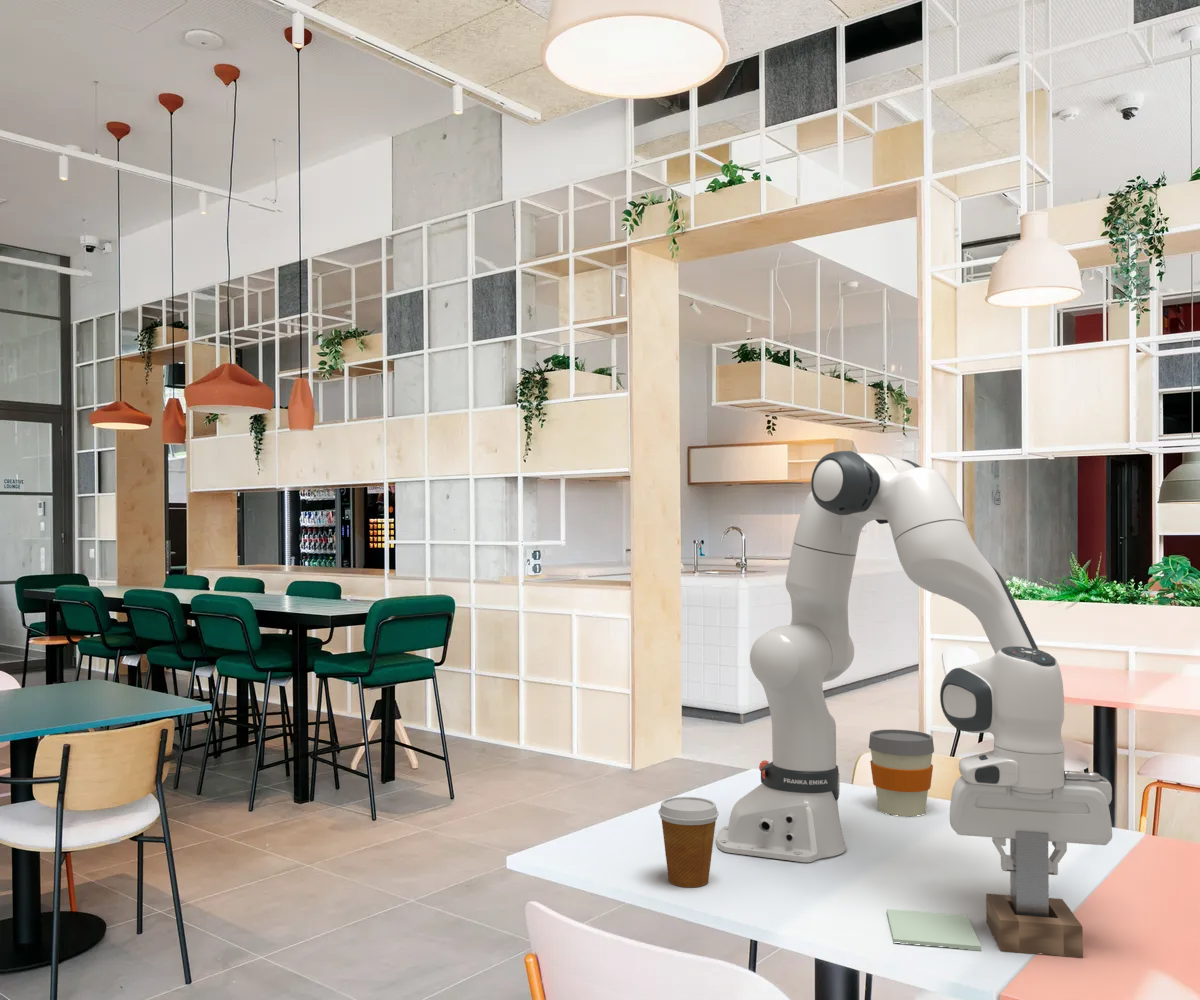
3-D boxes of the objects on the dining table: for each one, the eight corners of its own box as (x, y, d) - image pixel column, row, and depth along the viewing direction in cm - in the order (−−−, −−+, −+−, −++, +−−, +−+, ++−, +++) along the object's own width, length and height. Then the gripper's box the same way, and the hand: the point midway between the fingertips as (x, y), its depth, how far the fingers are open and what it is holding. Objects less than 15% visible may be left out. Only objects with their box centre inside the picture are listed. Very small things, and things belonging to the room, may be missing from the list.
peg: (1016, 922, 131) (1016, 831, 131) (1010, 911, 135) (1010, 822, 135) (1048, 925, 130) (1048, 833, 131) (1041, 913, 134) (1041, 825, 135)
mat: (893, 943, 131) (893, 939, 131) (886, 913, 141) (886, 909, 141) (981, 950, 128) (981, 946, 128) (967, 919, 139) (967, 915, 139)
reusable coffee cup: (944, 810, 197) (944, 734, 197) (918, 823, 187) (918, 744, 188) (885, 799, 205) (885, 726, 206) (858, 811, 196) (857, 735, 196)
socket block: (1000, 951, 128) (1000, 919, 129) (986, 922, 138) (986, 893, 138) (1082, 957, 126) (1082, 926, 127) (1062, 928, 136) (1062, 898, 136)
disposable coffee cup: (654, 871, 159) (654, 796, 159) (712, 870, 160) (712, 795, 160) (662, 892, 149) (663, 812, 150) (724, 890, 150) (724, 811, 151)
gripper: (1104, 768, 134) (1105, 870, 134) (947, 759, 138) (947, 858, 138) (1119, 779, 128) (1119, 886, 128) (954, 769, 132) (954, 873, 132)
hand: (1028, 871), depth 133 cm, fingers closed on peg, 4 cm apart
